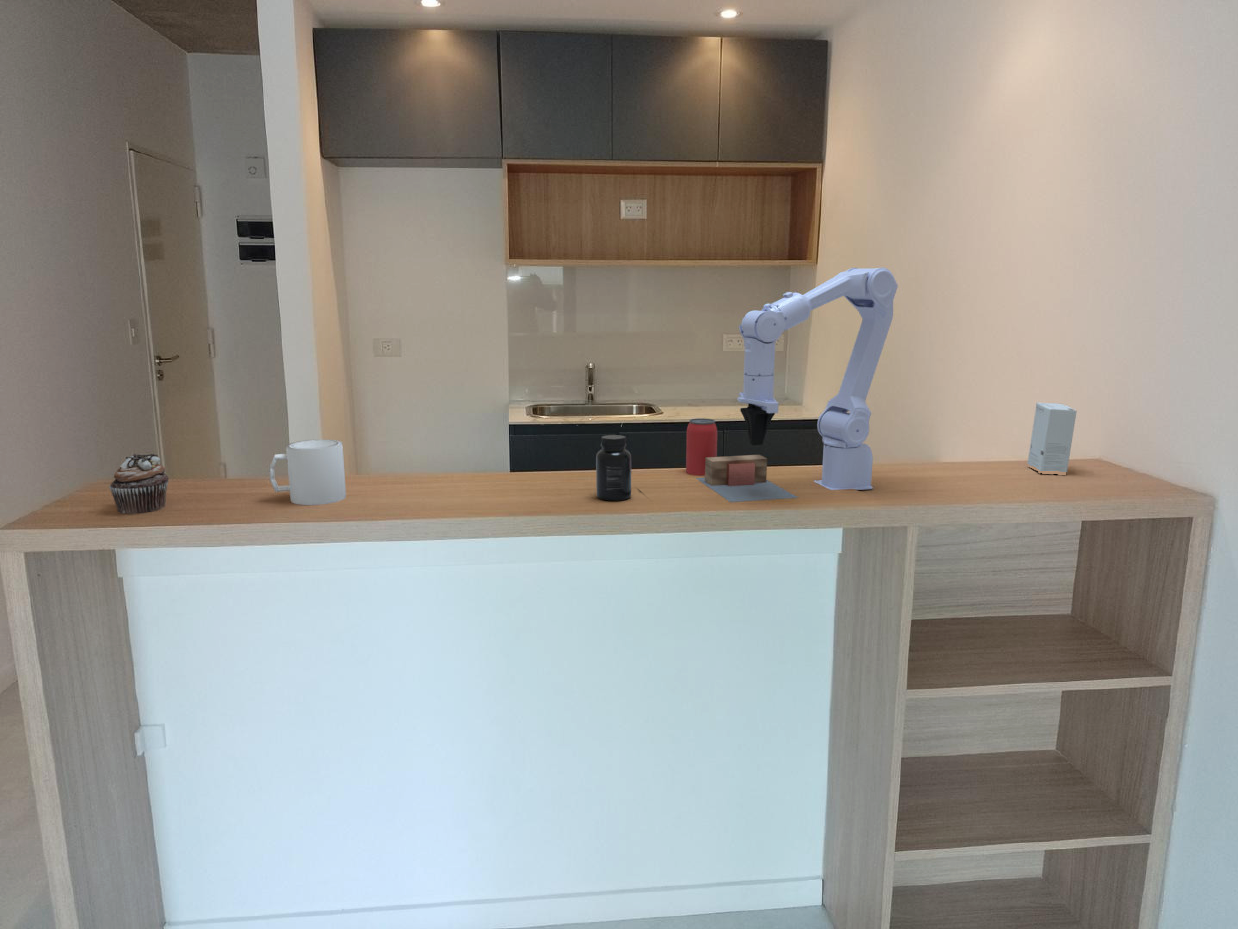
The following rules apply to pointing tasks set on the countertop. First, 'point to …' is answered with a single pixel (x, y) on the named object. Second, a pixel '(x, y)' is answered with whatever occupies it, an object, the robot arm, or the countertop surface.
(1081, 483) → the countertop surface
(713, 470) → the block
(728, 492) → the mat
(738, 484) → the pin
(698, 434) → the beer can
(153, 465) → the cupcake
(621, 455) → the supplement bottle
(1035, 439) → the skincare box
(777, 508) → the countertop surface
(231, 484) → the countertop surface
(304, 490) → the mug
